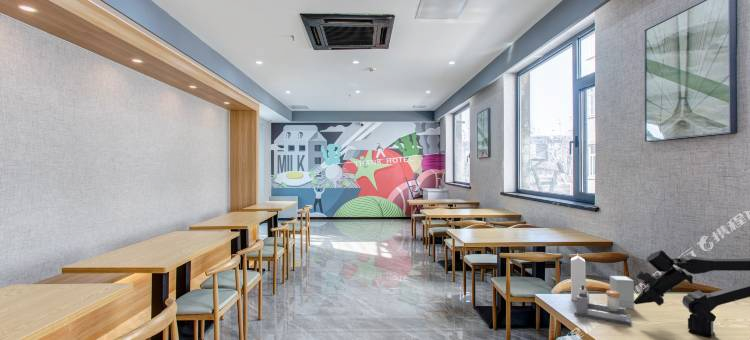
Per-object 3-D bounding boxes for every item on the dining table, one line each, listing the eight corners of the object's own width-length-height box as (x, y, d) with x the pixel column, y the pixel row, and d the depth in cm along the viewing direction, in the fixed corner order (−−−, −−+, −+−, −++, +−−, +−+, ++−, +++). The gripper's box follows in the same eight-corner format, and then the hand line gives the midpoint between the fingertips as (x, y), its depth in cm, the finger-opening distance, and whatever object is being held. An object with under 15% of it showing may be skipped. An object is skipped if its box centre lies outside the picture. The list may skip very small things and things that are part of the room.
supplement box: (634, 308, 166) (634, 280, 166) (616, 307, 167) (615, 279, 167) (626, 303, 173) (626, 276, 173) (609, 302, 174) (609, 275, 174)
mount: (630, 317, 156) (630, 298, 156) (630, 326, 147) (630, 305, 147) (576, 308, 167) (576, 290, 167) (574, 315, 158) (574, 296, 158)
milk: (571, 300, 177) (570, 254, 177) (571, 296, 183) (570, 251, 183) (586, 302, 175) (585, 255, 175) (585, 298, 180) (584, 252, 180)
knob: (620, 313, 156) (619, 291, 156) (620, 317, 151) (619, 295, 151) (606, 310, 159) (606, 289, 159) (606, 315, 154) (605, 293, 154)
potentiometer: (587, 294, 161) (587, 285, 161) (586, 296, 159) (586, 287, 159) (579, 293, 163) (579, 284, 163) (578, 295, 160) (578, 285, 161)
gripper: (648, 259, 156) (617, 281, 162) (652, 269, 140) (617, 293, 146) (672, 280, 151) (639, 302, 157) (679, 293, 136) (642, 317, 142)
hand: (634, 303), depth 151 cm, fingers closed
